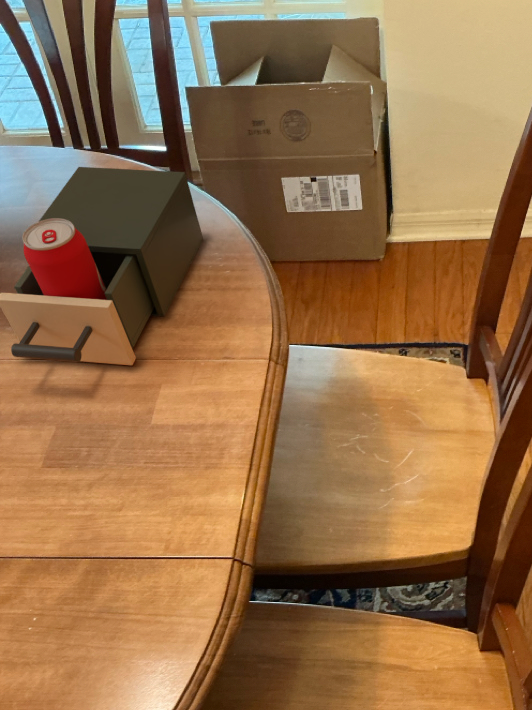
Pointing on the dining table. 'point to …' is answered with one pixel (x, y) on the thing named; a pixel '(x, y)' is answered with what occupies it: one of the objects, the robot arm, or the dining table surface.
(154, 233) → the cabinet
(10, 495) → the dining table surface
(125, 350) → the drawer
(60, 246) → the beverage can
